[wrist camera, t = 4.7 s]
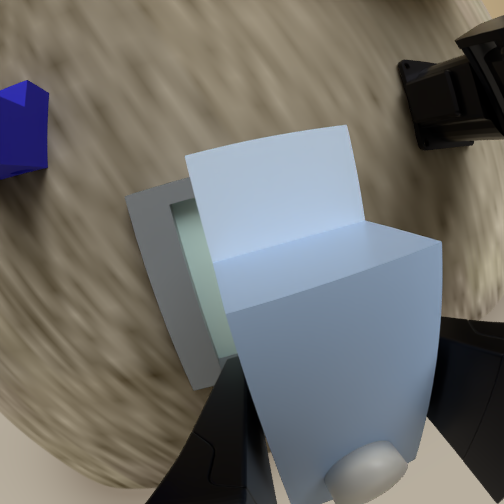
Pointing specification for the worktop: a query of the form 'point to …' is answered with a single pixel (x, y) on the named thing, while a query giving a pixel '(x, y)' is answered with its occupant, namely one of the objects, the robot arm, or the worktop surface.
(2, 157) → the cable clip
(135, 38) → the worktop surface
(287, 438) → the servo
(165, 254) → the plate
